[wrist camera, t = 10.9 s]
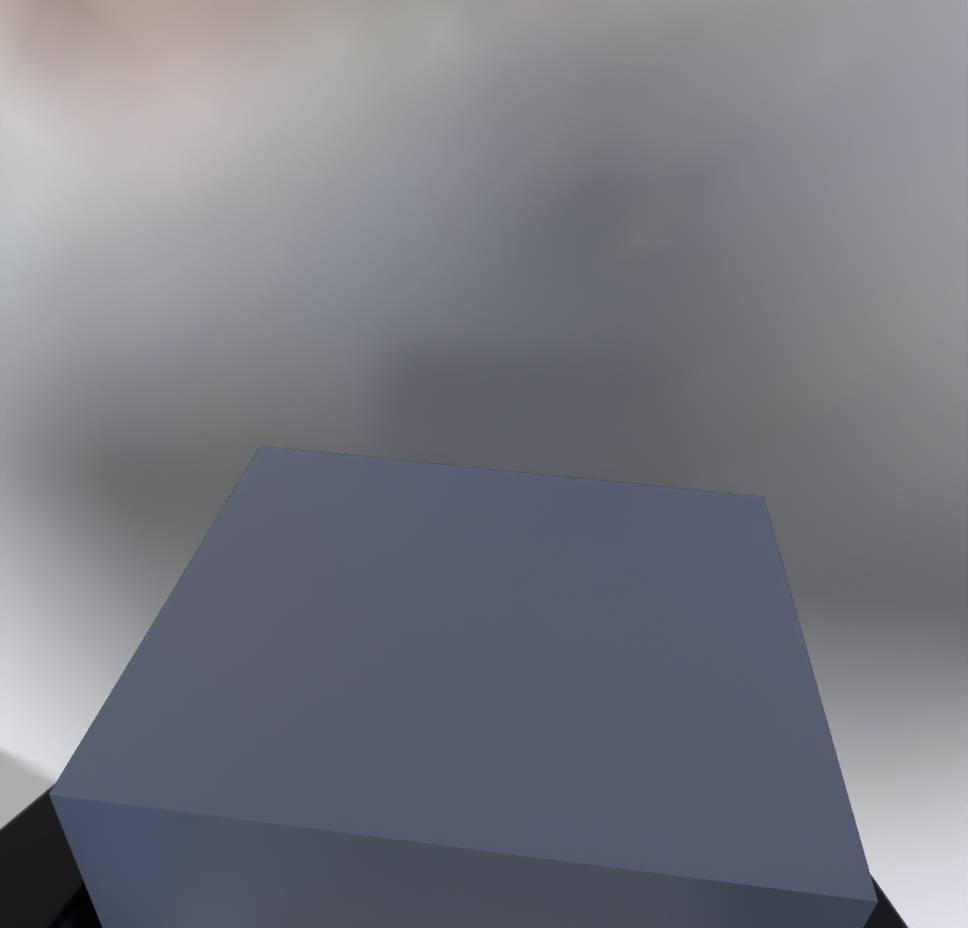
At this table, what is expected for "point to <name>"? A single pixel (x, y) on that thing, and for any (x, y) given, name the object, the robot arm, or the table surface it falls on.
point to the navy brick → (468, 716)
